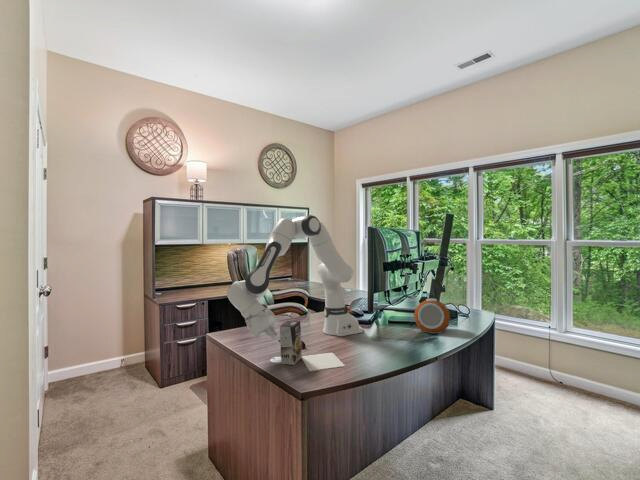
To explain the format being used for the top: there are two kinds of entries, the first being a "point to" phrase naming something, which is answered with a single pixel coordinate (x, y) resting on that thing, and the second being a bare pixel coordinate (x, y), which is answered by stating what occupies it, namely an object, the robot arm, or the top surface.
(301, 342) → the sunglasses case
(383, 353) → the top surface
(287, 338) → the coffee box
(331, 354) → the felt pad
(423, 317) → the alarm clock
